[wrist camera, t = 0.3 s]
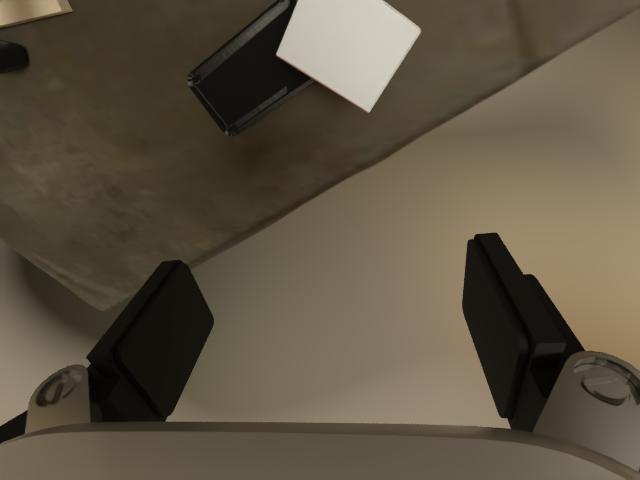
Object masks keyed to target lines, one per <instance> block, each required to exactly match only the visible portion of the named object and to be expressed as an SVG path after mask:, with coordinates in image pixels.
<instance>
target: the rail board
mask: <svg viewBox="0 0 640 480" xmlns="http://www.w3.org/2000/svg"><path fill="white" fill-rule="evenodd" d="M68 12H72V8H71V6H70V4H69V2H68V0H0V28H4V27H8V26H12V25H16V24H21V23H25V22H29V21H34V20H38V19H42V18H46V17H51V16H55V15H59V14H63V13H68Z"/></svg>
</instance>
